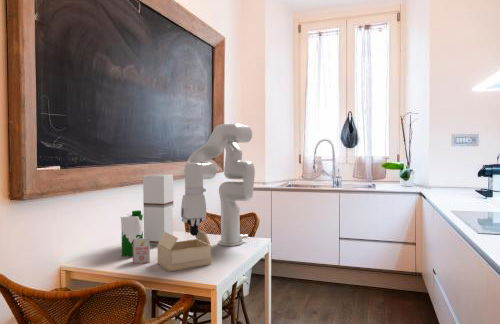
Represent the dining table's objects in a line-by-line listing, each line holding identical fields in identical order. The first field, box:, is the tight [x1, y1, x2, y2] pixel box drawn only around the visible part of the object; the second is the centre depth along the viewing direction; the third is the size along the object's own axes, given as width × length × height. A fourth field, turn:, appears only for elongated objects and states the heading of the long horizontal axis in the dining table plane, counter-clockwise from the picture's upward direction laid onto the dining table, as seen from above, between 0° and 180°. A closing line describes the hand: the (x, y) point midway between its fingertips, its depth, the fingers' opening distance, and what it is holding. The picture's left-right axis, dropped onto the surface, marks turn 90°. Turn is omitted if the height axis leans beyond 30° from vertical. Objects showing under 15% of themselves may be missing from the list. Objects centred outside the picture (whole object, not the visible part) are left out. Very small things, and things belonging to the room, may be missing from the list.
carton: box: [156, 238, 212, 273], centre depth 161 cm, size 18×15×8 cm
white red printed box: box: [132, 237, 151, 264], centre depth 164 cm, size 4×7×10 cm, turn 101°
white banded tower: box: [142, 174, 174, 246], centre depth 199 cm, size 11×11×35 cm
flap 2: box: [194, 229, 211, 245], centre depth 165 cm, size 1×13×6 cm, turn 33°
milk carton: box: [120, 210, 144, 258], centre depth 176 cm, size 9×9×20 cm
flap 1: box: [158, 232, 179, 250], centre depth 157 cm, size 1×13×6 cm
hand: (194, 235), depth 163 cm, fingers closed
